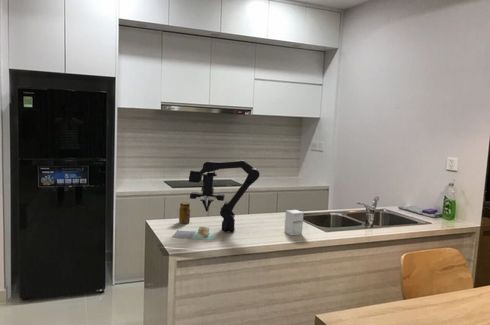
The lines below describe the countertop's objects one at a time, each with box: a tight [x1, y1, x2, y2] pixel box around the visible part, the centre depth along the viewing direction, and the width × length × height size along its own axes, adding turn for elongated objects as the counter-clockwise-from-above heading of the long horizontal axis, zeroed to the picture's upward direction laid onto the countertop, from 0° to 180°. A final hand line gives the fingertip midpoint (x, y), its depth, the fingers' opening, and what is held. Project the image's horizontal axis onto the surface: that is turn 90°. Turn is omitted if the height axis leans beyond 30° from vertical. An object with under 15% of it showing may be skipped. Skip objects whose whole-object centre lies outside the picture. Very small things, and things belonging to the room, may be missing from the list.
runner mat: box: [171, 229, 215, 241], centre depth 203 cm, size 20×12×1 cm, turn 87°
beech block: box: [197, 226, 210, 238], centre depth 203 cm, size 5×5×4 cm
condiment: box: [176, 202, 193, 225], centre depth 224 cm, size 7×8×12 cm
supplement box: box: [284, 209, 304, 237], centre depth 217 cm, size 7×7×13 cm
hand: (206, 211), depth 216 cm, fingers closed
